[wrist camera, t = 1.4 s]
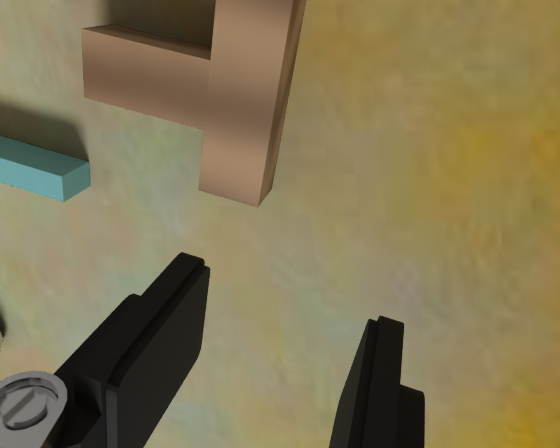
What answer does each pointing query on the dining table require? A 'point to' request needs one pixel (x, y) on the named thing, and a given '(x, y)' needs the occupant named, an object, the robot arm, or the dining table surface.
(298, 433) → the dining table surface
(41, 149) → the teal corral
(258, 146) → the walnut T-block
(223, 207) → the dining table surface
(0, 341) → the plastic bottle
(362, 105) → the dining table surface
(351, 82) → the dining table surface
